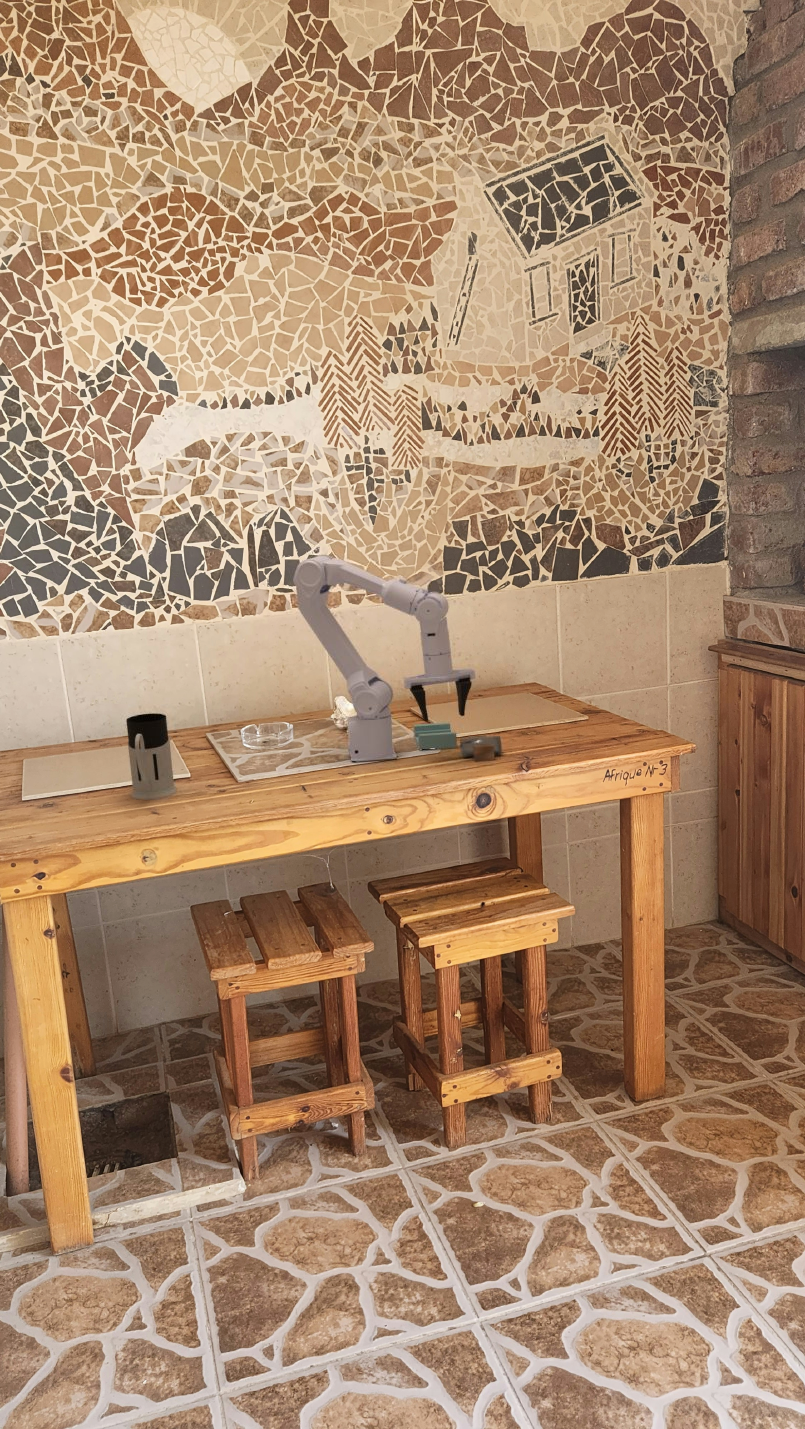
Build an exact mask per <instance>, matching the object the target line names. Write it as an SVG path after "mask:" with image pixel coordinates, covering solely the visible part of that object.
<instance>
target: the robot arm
mask: <svg viewBox="0 0 805 1429" xmlns="http://www.w3.org/2000/svg"><path fill="white" fill-rule="evenodd" d="M292 582H293V584H294V586H295V587H296V588H295V590H296V596H297V597H296V598H297V604H298V605H297V606H298V611H299V612H300V614H301V616H302V617H303V618H304V619H305V622H306V623H307V625H308V626H309V627H310V629H311V630H312V631H313V633H314V634H315V636H316V638H317V639H318V640H319V642H320V643H321V645H322V646H323V648H324V649H325V650H326V652H327V654H328V655H329V657H330V658H331V660H332V661H333V663H334V664H335V666H336V667H337V668H338V670H339V672H340V673H341V675H343V678H344V679H345V680H346V686H347V687H346V688H347V693H348V694H349V696H350V697H351V701H352V706H353V710H354V712H356V715H353V716H348V717H347V734H348V743H347V751H348V753H349V757H351V758H350V761H351V762H352V761H356V762H367V761H380V760H381V761H383V760H393V759H397V756H398V755H397V753H396V752H395V751H396V750H395V748H394V746H393V745H394V744H393V743H394V742H393V724H392V723H393V722H392V711H391V709H390V707H389V705H390V704H391V703H392V701H393V699H394V691H393V688H392V686H391V685H390V684H389V683H388V682H387V681H386V680H384V679H382V678H381V677H380V676H379V675H378V672H376V671H375V670H374V669H372V668H370V667H369V666H367V664H366V662H365V660H364V659H363V658H362V656H361V655H360V653H359V652H358V650H357V649H356V648H355V647H356V646H354V645H353V643H352V642H351V640H350V638H349V637H348V636H347V634H346V633H345V631H344V630H343V628H342V626H341V625H340V624H339V622H338V621H337V619H336V617H335V616H334V615H333V613H332V612H331V610H330V608H329V607H328V606H327V600H328V596H329V592H330V589H331V587H332V586H334V585H339V584H347V585H350V586H353V587H355V588H359V590H360V589H361V590H363V591H366V592H369V593H372V594H375V595H377V596H379V597H380V598H381V599H382V602H383V604H384V605H386V606H388V607H390V608H392V609H395V610H398V611H400V612H402V613H404V614H406V615H409V616H411V617H412V616H414V617H415V618H416V620H417V622H419V626H420V640H421V649H422V660H423V668H424V673H423V674H419V675H416V676H410V677H405V678H403V685H404V689H406V690H409V691H410V692H411V694H412V695H413V697H414V699H415V701H416V703H417V705H418V707H419V710H420V712H421V713H420V714H421V717H422V720H423V722H429V716H428V710H427V700H426V690H424V686H433V685H439V684H444V683H452V682H454V683H455V688H456V696H457V708H458V714H459V716H461V717H465V714H466V712H465V711H466V705H467V700H468V696H469V693H470V690H471V688H472V684H473V683H472V680H476V674H475V673H476V672H475V669H474V668H466V669H465V668H464V669H454V670H453V662H452V661H453V660H452V652H451V642H450V634H449V632H450V631H449V628H448V619H447V614H448V613H449V607H450V606H449V602H448V600H447V598H446V597H445V596H444V595H443V594H441V593H440V592H438V591H431V592H429V589H428V588H426V587H423V588H420V587H418V586H415V585H413V584H410V583H408V580H407V579H406V578H404V577H401V578H399V579H398V578H392V579H390V580H385V579H383V578H380V576H379V577H378V576H376V575H375V574H372V573H370V572H368V571H366V570H364V569H362V568H360V567H357V566H356V565H353V564H352V563H349V562H347V561H345V560H343V559H340V558H336V557H334V558H333V557H332V556H331V555H328V554H319V555H316V556H315V557H312V558H307V559H306V558H305V559H304V560H302V561H301V562H299V563H298V565H297V566H296V569H295V573H294V576H293V579H292Z"/></svg>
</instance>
